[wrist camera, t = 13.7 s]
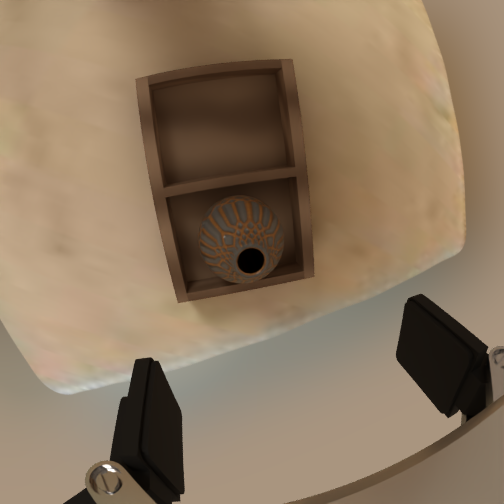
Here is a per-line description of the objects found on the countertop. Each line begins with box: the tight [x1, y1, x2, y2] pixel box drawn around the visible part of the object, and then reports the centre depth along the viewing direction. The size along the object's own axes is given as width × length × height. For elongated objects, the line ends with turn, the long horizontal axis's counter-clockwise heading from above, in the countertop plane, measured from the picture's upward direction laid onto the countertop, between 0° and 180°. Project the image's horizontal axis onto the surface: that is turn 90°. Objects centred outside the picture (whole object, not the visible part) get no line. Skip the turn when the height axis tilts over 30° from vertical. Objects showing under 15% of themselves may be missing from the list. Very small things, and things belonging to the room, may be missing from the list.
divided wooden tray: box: [136, 59, 314, 303], centre depth 25 cm, size 20×13×4 cm, turn 8°
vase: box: [198, 195, 284, 283], centre depth 23 cm, size 7×7×9 cm
